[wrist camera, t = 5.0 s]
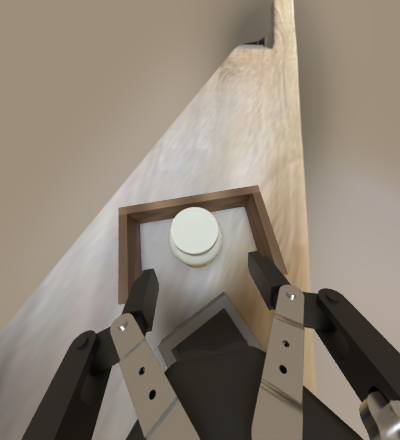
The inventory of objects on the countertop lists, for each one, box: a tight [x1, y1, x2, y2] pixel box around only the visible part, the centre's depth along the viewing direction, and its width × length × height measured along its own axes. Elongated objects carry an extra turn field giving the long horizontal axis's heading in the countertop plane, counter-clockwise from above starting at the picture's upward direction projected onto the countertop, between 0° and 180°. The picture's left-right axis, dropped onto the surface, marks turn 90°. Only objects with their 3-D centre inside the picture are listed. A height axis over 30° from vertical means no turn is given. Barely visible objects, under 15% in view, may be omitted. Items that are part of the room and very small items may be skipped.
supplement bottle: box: [169, 207, 223, 268], centre depth 17 cm, size 5×5×10 cm
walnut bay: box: [118, 185, 288, 305], centre depth 20 cm, size 18×11×4 cm, turn 100°
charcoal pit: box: [158, 292, 265, 368], centre depth 17 cm, size 9×9×2 cm
